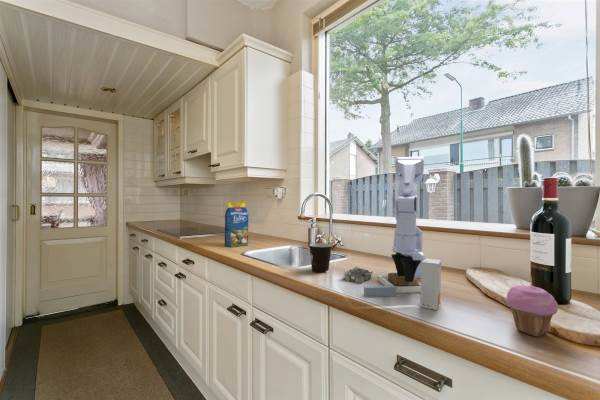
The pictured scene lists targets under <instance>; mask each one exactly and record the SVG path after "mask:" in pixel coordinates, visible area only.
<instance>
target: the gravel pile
mask: <svg viewBox="0 0 600 400" xmlns="http://www.w3.org/2000/svg"><path fill="white" fill-rule="evenodd" d="M342 273H343V276H344V280H345V281H347V282H355V283H356V284H357V283H358V284H359V283H365V281H368V280H369V279H372V275H373V274H374V273H373V270H372V271H371V270H370V271H369V270H368V269H366V268H362V267H361V268H360V267H358V266H354V267H353V268H350V269H349V270H347V271H343V272H342Z"/></svg>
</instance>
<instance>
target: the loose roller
mask: <svg viewBox="0 0 600 400" xmlns="http://www.w3.org/2000/svg"><path fill="white" fill-rule="evenodd" d="M393 283H394V286H395V287H404V286H418V283H419V281H418V278H416V277H415V276H414V280H413V282H406V281H405V276H395V277H394V280H393Z"/></svg>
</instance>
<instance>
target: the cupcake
mask: <svg viewBox="0 0 600 400" xmlns="http://www.w3.org/2000/svg"><path fill="white" fill-rule="evenodd" d="M506 304H507V306H509V309H510V311H511V313H512V316H513V320H514V321H513V322H514V325H515V328H516V329H517V330H518V331H520V332H522V333H526V334H527V335H529V336H532V337H540V336H542V335H547V334H548V333H549V332H550V329H551V321H552V318H553V315H555V314H557V312H558V309H559V305H558V301H556V299H555V297H554V296H553V295H552V294H551V293H549V292H548V291H547V290H545V289H544V288H541V287H537V286H532V285H513V287H510V288H509V290H508V291H507V294H506Z"/></svg>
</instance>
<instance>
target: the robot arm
mask: <svg viewBox="0 0 600 400" xmlns="http://www.w3.org/2000/svg"><path fill="white" fill-rule="evenodd" d="M394 165H395V167H394V168H395V169H394V170H395V171H394V172H395V175H396V176H395V178H396V180H397V181H398V182H400V183H399V184H398V187H397V197H396V198H395V199H394V212H395V221H396V223H395V224H396V225H395V230H394V234H393V246H392V254H391V255H390V257H391V259H392V260H393V263H394V266H395V269H396V271H395V272H392V273H397V275H398V276H405V281H406V282H413V280H414V276H415V277H416V278H417V279H421V262H422V261H423V260H425V259H427V258H426V256H425V253H423V231H422V230H421V229H420V228H419V227H418V226H417V215H418V211H419V210H418V209H419V208H418V207H419V199H418V194H417V192H418V191H417V190H418V186H417V185H418V183H419V182H421V181H423V178H424V169H425V168H424V167H425V166H424V165H425V158H424V156H422V155H421V156H402V157H399V156H397V157H396V158H395V163H394ZM415 213H416V214H415ZM393 253H394V254H393Z"/></svg>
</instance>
